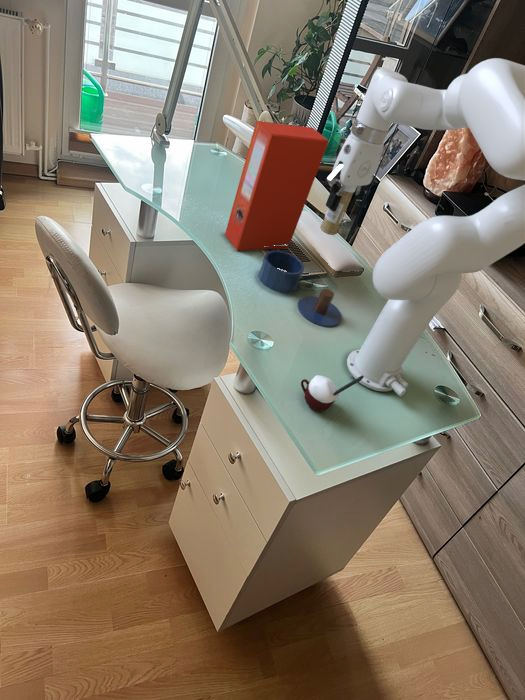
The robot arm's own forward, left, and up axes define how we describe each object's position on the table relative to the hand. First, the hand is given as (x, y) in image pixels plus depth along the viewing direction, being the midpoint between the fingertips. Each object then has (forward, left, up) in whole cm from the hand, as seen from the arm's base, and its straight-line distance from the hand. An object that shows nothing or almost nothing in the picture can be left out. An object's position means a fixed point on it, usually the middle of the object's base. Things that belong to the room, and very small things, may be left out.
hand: (338, 207), depth 121 cm
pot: (+2, +9, -22) cm, 24 cm away
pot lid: (-12, +6, -22) cm, 26 cm away
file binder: (+20, +3, -22) cm, 30 cm away
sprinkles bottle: (0, 0, -7) cm, 7 cm away
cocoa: (-36, +27, -22) cm, 51 cm away
